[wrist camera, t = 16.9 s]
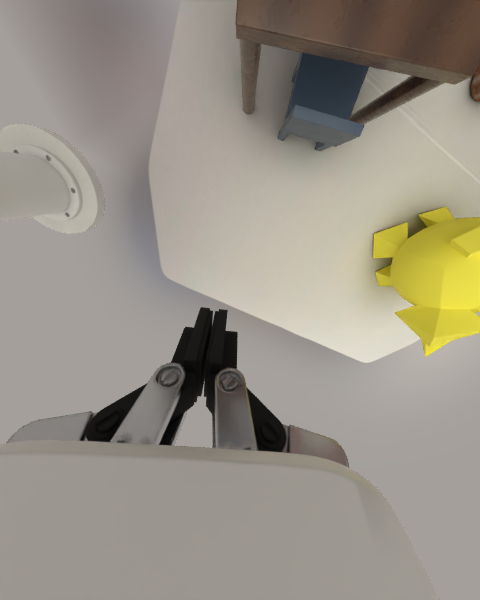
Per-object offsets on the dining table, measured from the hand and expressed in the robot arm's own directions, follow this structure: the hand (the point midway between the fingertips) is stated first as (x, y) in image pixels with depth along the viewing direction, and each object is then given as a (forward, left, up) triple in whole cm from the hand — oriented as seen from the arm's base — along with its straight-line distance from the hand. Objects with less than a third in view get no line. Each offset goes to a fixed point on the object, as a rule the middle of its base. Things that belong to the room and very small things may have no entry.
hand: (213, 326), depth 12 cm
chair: (+9, +18, -31) cm, 37 cm away
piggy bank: (+39, 0, -31) cm, 50 cm away
